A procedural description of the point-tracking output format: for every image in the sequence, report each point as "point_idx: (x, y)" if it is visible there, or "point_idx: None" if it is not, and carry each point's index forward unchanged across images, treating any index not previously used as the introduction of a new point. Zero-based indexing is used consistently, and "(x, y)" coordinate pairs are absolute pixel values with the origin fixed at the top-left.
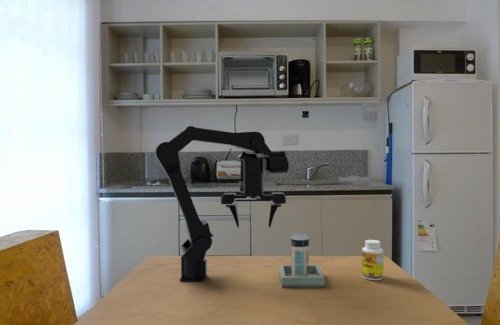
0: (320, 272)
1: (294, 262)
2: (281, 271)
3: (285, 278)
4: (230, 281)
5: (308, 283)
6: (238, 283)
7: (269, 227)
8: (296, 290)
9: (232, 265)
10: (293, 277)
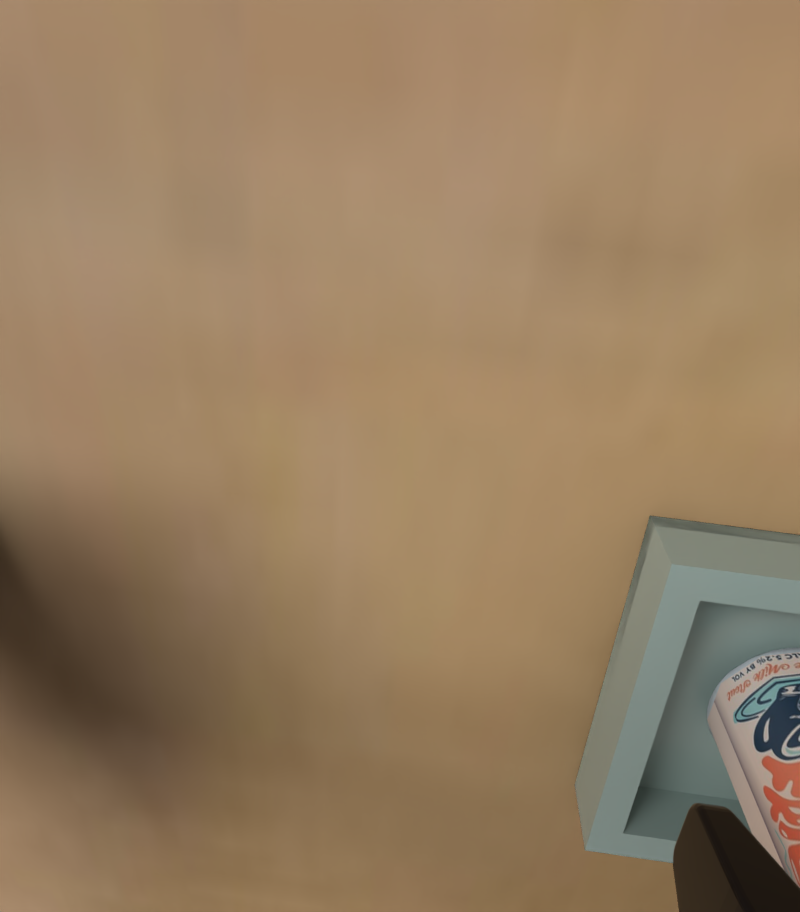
0: None
1: None
2: (624, 737)
3: (612, 848)
4: (191, 626)
5: None
6: (257, 672)
7: (689, 852)
8: None
9: (156, 164)
10: None
